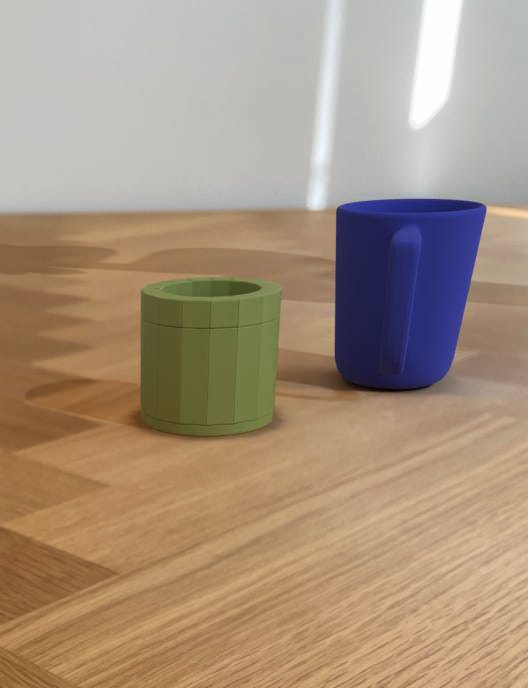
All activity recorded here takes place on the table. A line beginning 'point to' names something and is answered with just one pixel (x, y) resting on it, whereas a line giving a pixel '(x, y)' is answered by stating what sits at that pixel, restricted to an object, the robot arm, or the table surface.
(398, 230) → the mug
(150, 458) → the table surface
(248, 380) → the green open cylindrical container
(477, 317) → the table surface
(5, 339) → the table surface
